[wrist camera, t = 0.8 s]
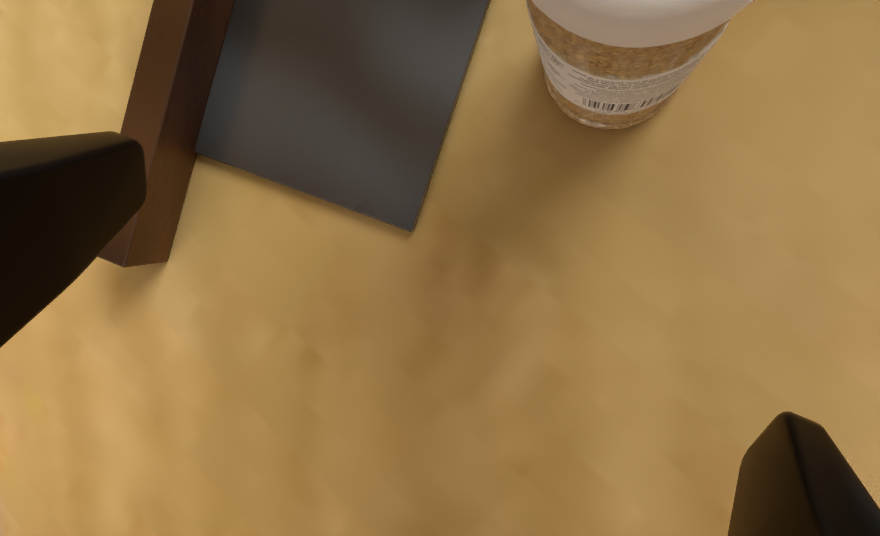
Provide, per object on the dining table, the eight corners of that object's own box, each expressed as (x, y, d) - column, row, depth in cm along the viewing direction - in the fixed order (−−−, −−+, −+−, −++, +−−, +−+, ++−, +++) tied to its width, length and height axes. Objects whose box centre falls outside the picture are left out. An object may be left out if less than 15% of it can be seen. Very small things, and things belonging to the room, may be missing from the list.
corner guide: (375, 346, 24) (351, 362, 21) (135, 249, 25) (88, 254, 23) (513, -66, 21) (504, -101, 19) (238, -142, 23) (197, -183, 21)
